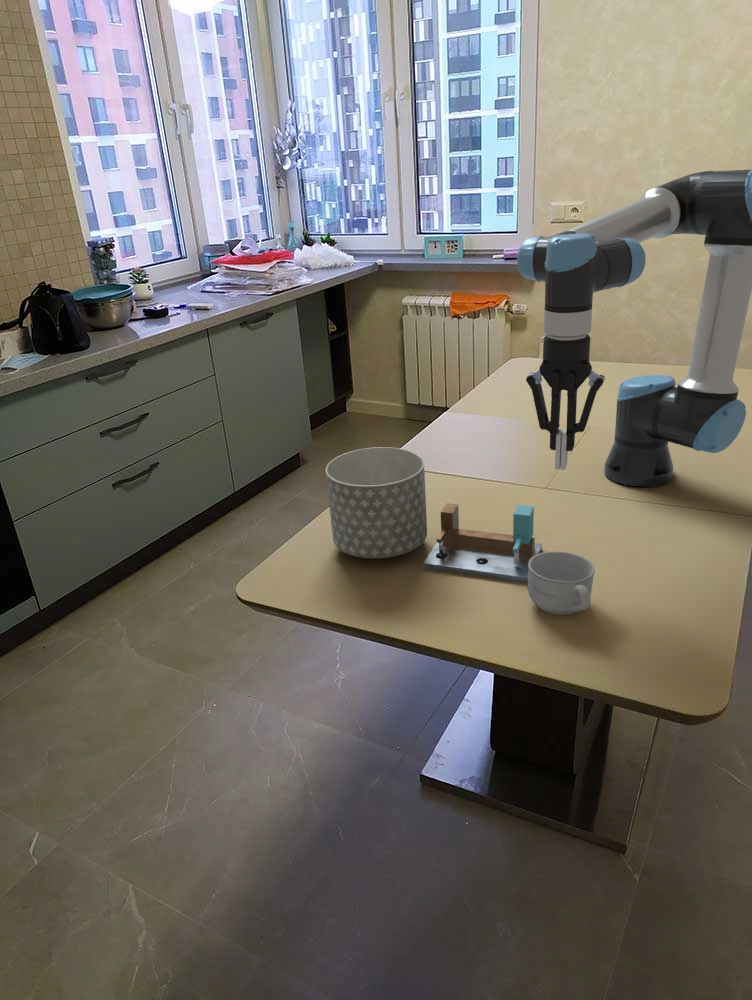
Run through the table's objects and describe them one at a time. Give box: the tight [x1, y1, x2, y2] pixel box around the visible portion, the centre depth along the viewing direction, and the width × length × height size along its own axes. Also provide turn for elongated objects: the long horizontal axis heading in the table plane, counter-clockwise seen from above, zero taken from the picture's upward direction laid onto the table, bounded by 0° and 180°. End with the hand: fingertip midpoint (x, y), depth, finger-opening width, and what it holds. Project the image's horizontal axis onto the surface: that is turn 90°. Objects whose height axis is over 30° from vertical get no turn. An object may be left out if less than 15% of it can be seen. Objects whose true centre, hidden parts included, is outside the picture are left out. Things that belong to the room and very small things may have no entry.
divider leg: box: [512, 504, 535, 564], centre depth 134 cm, size 3×9×8 cm, turn 158°
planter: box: [325, 446, 428, 559], centre depth 142 cm, size 19×19×18 cm
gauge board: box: [423, 502, 543, 584], centre depth 137 cm, size 20×13×9 cm, turn 68°
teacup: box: [527, 550, 596, 616], centre depth 121 cm, size 14×11×8 cm
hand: (561, 466), depth 129 cm, fingers closed
